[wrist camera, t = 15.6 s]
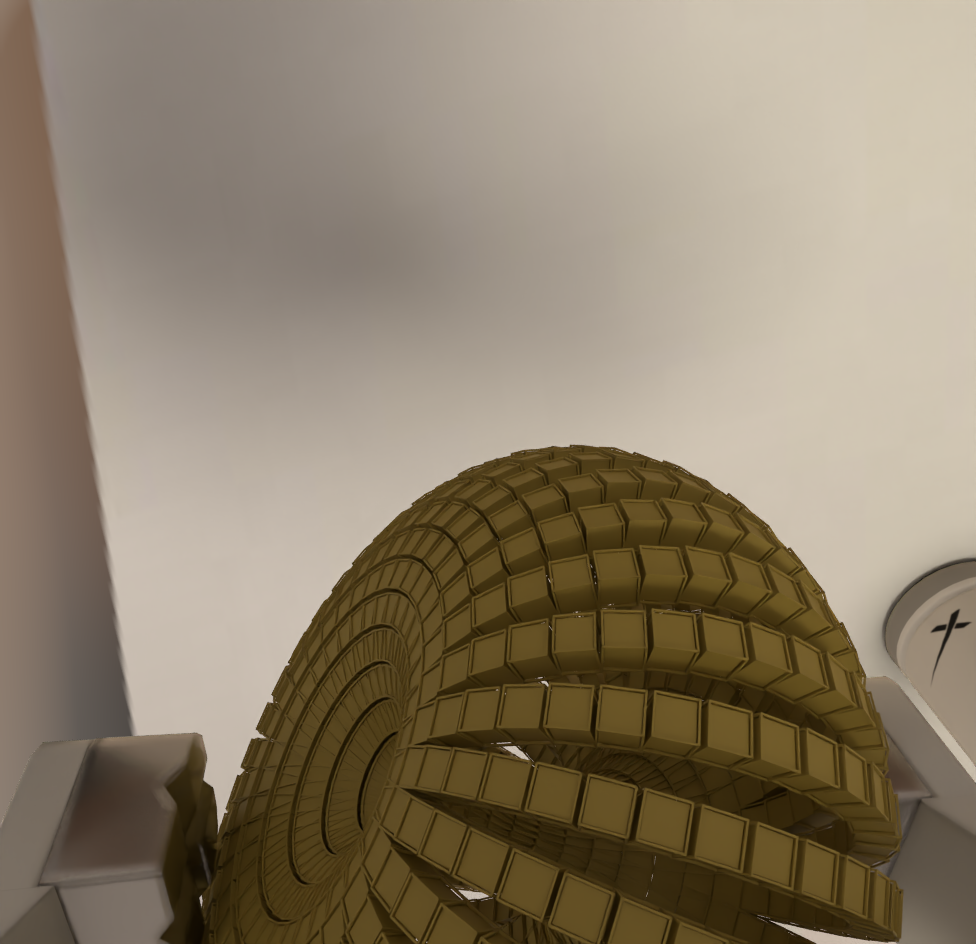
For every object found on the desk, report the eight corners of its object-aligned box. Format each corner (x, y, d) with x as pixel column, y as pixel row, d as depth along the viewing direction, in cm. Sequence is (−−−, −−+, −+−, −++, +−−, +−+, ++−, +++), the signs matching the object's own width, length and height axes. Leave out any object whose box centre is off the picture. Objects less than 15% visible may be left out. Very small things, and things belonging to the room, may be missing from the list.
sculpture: (420, 795, 14) (479, 1577, 7) (192, 714, 12) (-13, 1610, 6) (745, 431, 11) (1355, 1125, 4) (506, 269, 10) (867, 945, 3)
